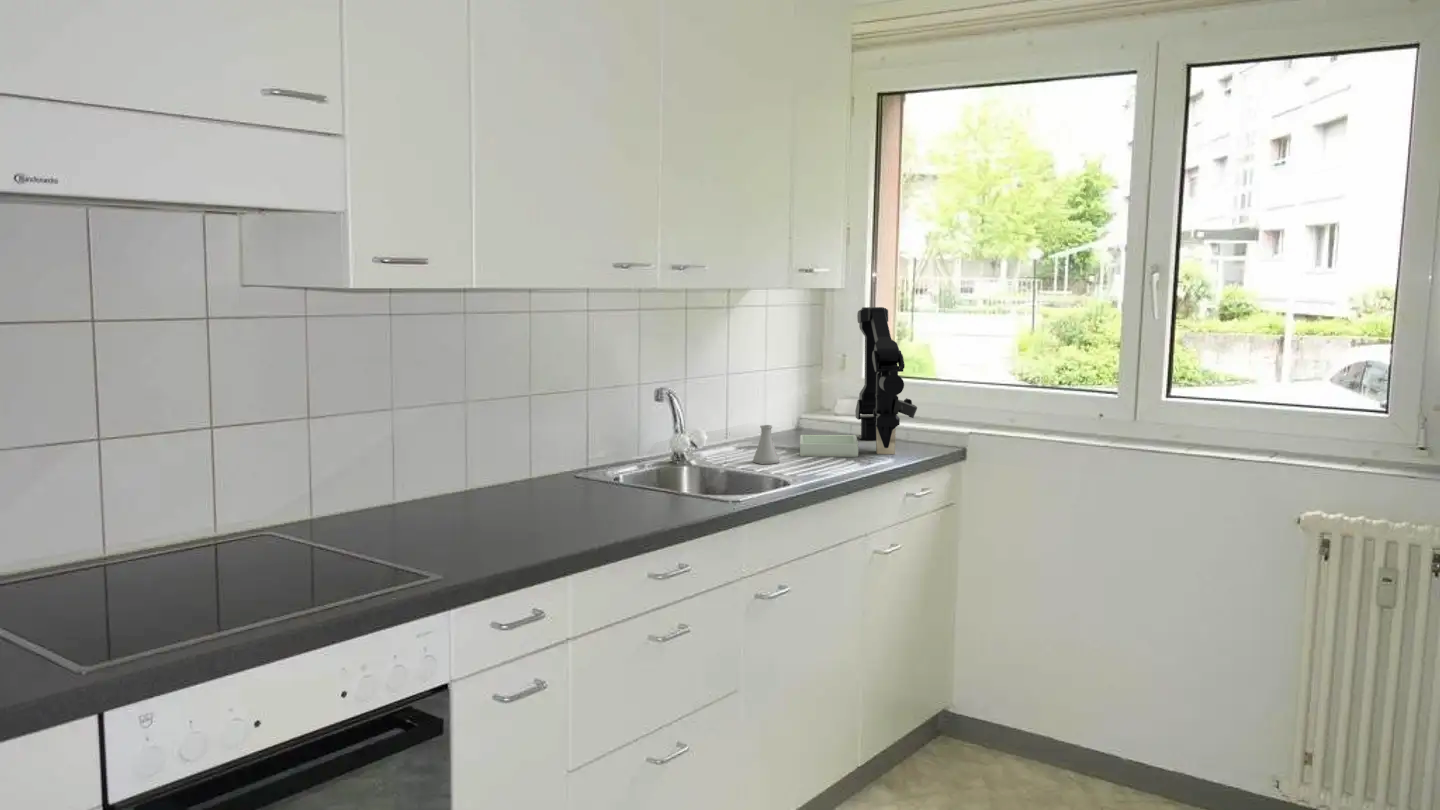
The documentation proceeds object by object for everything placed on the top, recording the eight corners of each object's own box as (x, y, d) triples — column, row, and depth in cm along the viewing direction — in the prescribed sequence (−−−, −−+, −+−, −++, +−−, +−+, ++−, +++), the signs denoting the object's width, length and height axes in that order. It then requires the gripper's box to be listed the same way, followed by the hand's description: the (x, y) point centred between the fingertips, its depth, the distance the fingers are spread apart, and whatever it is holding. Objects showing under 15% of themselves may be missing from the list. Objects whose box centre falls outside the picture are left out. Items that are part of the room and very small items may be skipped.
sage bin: (800, 446, 327) (800, 434, 327) (855, 447, 326) (855, 435, 326) (800, 456, 312) (800, 444, 311) (858, 456, 310) (858, 444, 310)
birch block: (876, 451, 319) (876, 426, 318) (893, 451, 319) (894, 426, 318) (877, 454, 314) (877, 429, 313) (895, 454, 314) (895, 429, 313)
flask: (748, 461, 305) (748, 424, 304) (772, 459, 308) (771, 423, 307) (760, 465, 299) (760, 428, 297) (784, 463, 302) (784, 426, 300)
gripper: (918, 395, 304) (917, 452, 306) (912, 387, 323) (911, 441, 325) (877, 395, 305) (876, 451, 307) (873, 387, 324) (872, 440, 326)
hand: (885, 446), depth 316 cm, fingers closed on birch block, 5 cm apart
